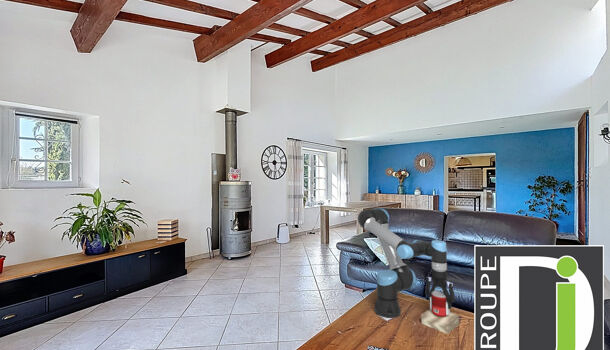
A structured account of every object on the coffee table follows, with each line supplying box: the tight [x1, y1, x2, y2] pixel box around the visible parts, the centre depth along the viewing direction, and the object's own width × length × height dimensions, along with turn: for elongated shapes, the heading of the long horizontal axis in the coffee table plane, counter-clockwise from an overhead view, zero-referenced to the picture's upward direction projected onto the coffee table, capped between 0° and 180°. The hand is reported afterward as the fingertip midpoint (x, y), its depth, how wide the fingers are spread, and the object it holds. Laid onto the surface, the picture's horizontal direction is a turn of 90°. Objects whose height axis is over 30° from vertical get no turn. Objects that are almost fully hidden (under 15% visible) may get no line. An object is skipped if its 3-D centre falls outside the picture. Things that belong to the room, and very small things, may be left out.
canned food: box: [432, 290, 447, 317], centre depth 154 cm, size 8×8×11 cm
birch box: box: [420, 308, 460, 335], centre depth 154 cm, size 14×14×5 cm
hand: (439, 311), depth 154 cm, fingers closed on canned food, 8 cm apart
